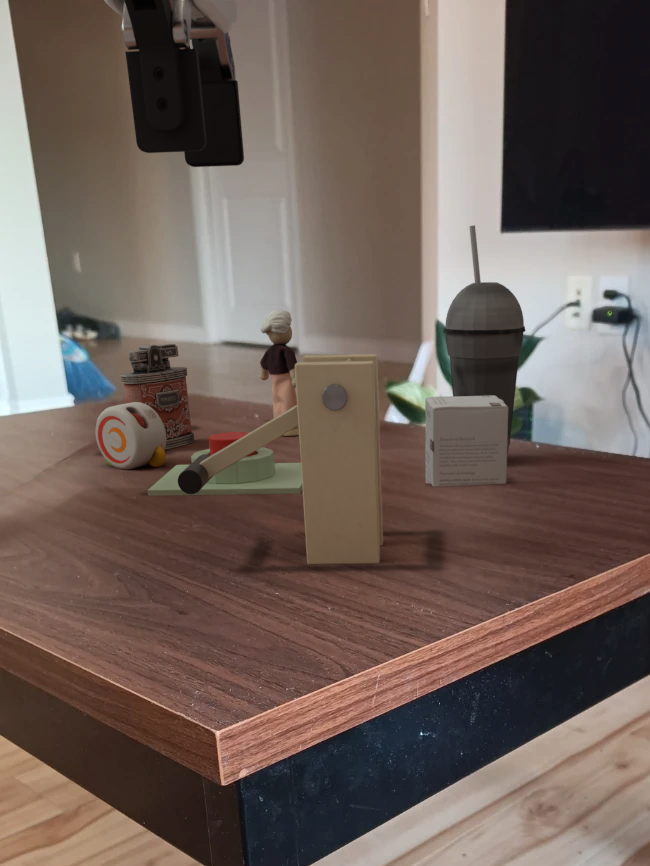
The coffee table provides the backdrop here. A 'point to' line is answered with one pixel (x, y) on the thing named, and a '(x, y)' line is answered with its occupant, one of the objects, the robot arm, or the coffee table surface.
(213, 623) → the coffee table surface
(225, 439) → the button
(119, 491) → the coffee table surface
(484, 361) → the beverage cup
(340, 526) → the lever bracket
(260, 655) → the coffee table surface
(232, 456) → the lever
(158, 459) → the roller toy
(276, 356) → the grandmother figurine
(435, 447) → the product carton
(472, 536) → the coffee table surface
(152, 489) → the button block
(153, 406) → the lighter
